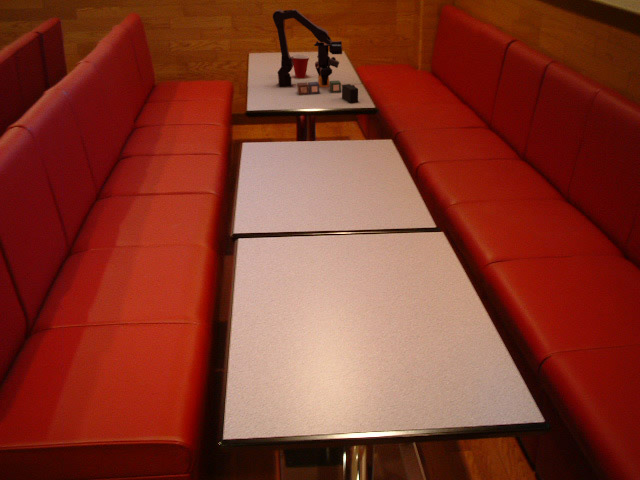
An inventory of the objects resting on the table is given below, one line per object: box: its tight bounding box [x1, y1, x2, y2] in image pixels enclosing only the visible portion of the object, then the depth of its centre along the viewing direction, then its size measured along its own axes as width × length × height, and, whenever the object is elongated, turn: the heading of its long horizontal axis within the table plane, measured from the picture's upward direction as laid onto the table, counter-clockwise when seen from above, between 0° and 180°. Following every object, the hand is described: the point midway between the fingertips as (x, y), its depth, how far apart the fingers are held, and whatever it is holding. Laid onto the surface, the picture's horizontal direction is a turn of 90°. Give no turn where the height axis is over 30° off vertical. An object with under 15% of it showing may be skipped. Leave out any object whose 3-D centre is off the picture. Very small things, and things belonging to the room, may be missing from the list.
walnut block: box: [296, 82, 309, 96], centre depth 335 cm, size 5×5×5 cm
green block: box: [329, 79, 342, 94], centre depth 338 cm, size 5×5×5 cm
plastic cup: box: [290, 54, 310, 79], centre depth 365 cm, size 11×11×12 cm
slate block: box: [307, 81, 320, 95], centre depth 336 cm, size 5×5×5 cm
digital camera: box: [341, 83, 359, 104], centre depth 321 cm, size 10×5×7 cm, turn 23°
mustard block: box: [317, 75, 330, 88], centre depth 348 cm, size 5×5×5 cm
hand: (323, 83), depth 349 cm, fingers open, 9 cm apart
